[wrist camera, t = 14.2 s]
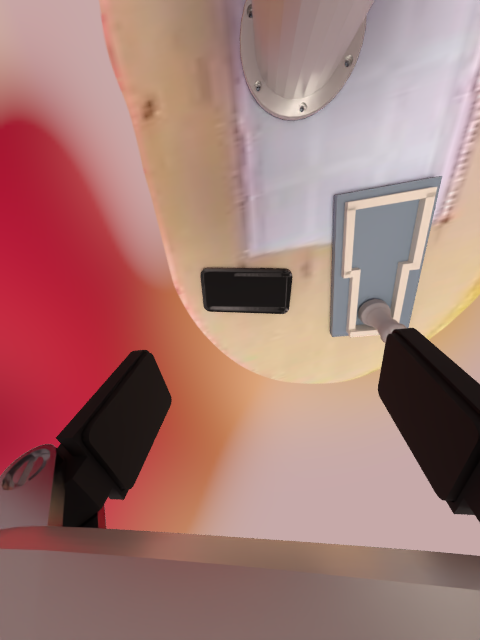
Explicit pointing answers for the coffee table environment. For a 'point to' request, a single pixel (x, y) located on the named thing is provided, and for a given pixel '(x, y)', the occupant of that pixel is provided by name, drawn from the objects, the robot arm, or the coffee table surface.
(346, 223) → the keyhole board
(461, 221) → the coffee table surface
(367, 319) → the rook chess piece
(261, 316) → the coffee table surface
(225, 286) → the phone
